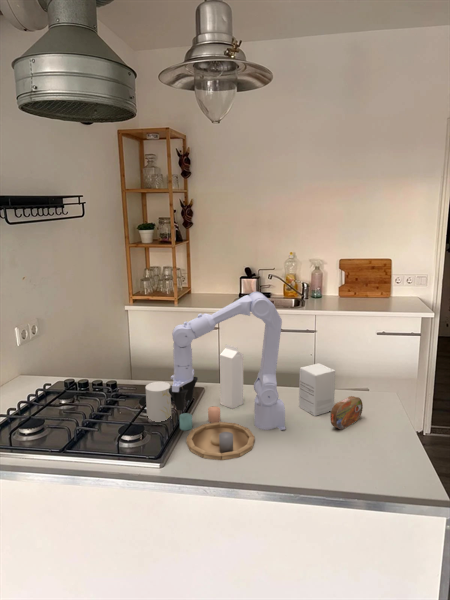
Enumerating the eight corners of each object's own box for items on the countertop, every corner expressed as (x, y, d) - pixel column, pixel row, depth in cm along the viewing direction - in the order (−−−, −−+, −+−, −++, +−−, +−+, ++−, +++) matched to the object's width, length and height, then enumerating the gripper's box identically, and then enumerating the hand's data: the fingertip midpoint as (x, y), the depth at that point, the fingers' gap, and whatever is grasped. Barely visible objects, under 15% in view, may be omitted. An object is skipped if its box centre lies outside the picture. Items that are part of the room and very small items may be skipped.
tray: (241, 424, 154) (241, 418, 153) (263, 455, 135) (263, 448, 134) (181, 434, 148) (181, 427, 147) (196, 467, 129) (196, 460, 129)
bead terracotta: (218, 419, 157) (218, 405, 156) (221, 424, 154) (221, 410, 153) (206, 421, 156) (206, 407, 155) (210, 426, 153) (209, 412, 151)
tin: (336, 433, 148) (337, 408, 146) (328, 429, 150) (328, 405, 148) (362, 418, 157) (364, 394, 156) (354, 415, 160) (356, 392, 158)
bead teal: (190, 426, 153) (190, 412, 152) (193, 432, 149) (193, 417, 148) (178, 428, 152) (178, 414, 150) (181, 434, 148) (180, 419, 147)
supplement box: (317, 401, 171) (318, 362, 168) (334, 410, 163) (336, 370, 160) (297, 406, 166) (298, 367, 163) (314, 416, 159) (316, 375, 155)
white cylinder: (167, 426, 153) (165, 392, 150) (143, 424, 154) (141, 390, 152) (174, 415, 161) (173, 382, 158) (152, 413, 162) (150, 380, 160)
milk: (231, 399, 173) (231, 342, 169) (243, 403, 169) (243, 345, 165) (219, 404, 169) (219, 345, 164) (232, 409, 165) (232, 349, 160)
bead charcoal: (230, 446, 138) (230, 430, 137) (235, 453, 134) (234, 437, 133) (217, 448, 137) (217, 433, 136) (221, 455, 133) (221, 439, 132)
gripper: (179, 355, 152) (180, 394, 155) (161, 370, 138) (163, 413, 141) (199, 356, 150) (200, 396, 153) (184, 372, 136) (185, 415, 139)
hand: (184, 404), depth 147 cm, fingers open, 7 cm apart
